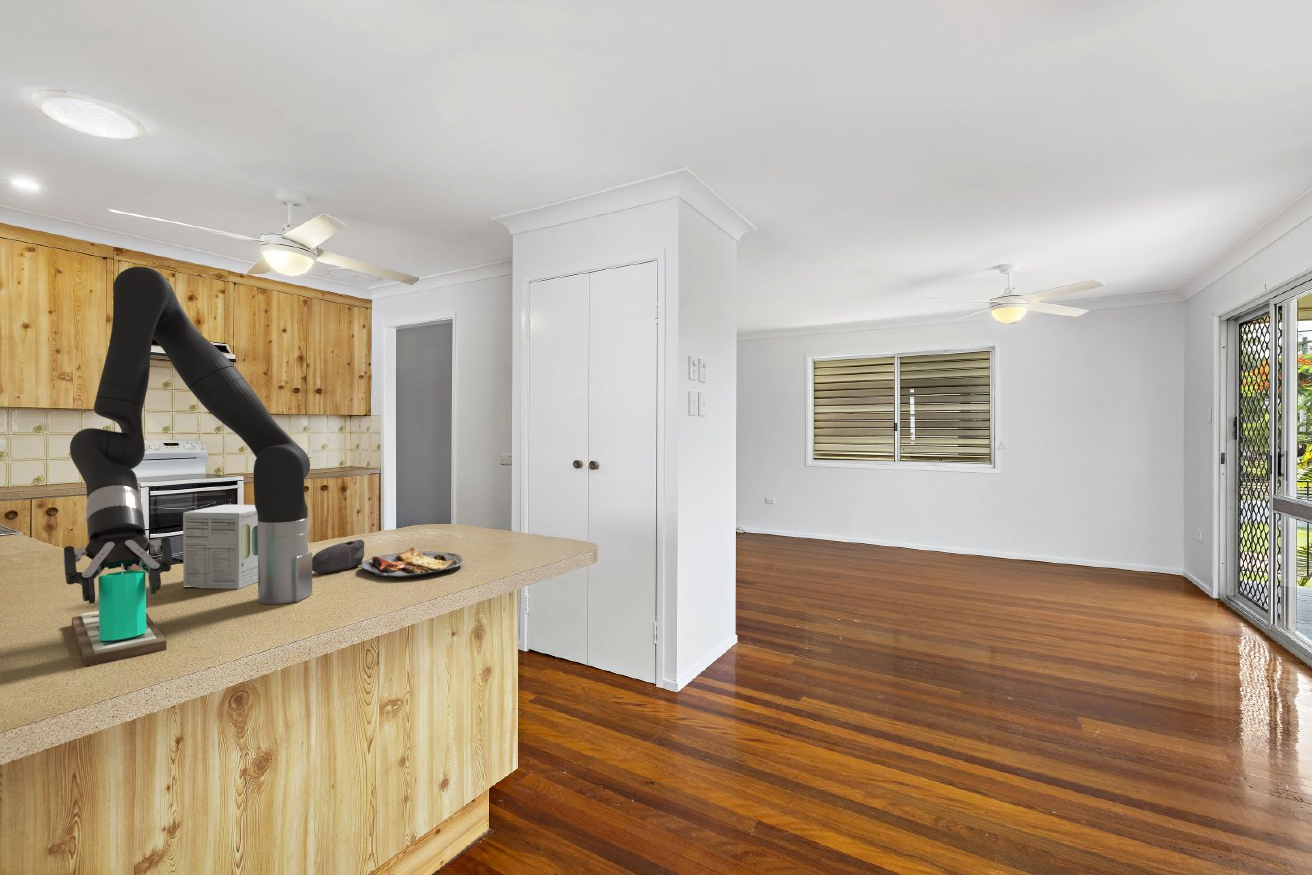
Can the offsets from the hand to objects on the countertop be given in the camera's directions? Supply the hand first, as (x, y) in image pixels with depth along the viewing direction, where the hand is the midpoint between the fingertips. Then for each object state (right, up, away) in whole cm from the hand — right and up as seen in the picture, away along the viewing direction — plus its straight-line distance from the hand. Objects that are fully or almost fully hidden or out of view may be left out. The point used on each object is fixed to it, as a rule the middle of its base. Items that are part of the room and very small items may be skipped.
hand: (123, 596), depth 101 cm
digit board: (-8, -9, +8) cm, 14 cm away
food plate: (+24, -9, +59) cm, 64 cm away
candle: (-2, -7, +2) cm, 8 cm away
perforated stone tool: (+6, -8, +56) cm, 57 cm away
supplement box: (-13, -8, +44) cm, 47 cm away
